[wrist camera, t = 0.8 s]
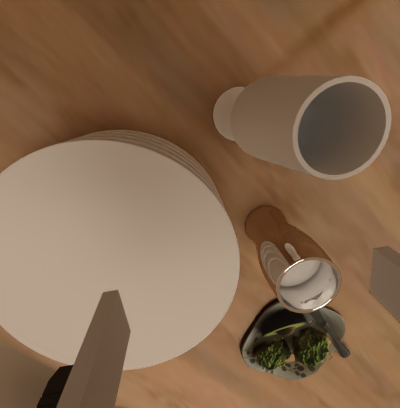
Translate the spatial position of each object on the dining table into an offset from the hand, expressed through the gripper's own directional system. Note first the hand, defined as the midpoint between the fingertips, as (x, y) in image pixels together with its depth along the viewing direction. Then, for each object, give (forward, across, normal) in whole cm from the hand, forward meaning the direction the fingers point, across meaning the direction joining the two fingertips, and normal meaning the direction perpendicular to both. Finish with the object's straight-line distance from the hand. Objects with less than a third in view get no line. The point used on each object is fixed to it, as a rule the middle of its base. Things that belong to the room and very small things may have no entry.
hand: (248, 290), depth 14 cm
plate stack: (+26, -12, -6) cm, 29 cm away
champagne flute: (+26, +5, +7) cm, 27 cm away
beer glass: (+25, +8, -9) cm, 28 cm away
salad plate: (+25, +11, -31) cm, 42 cm away
